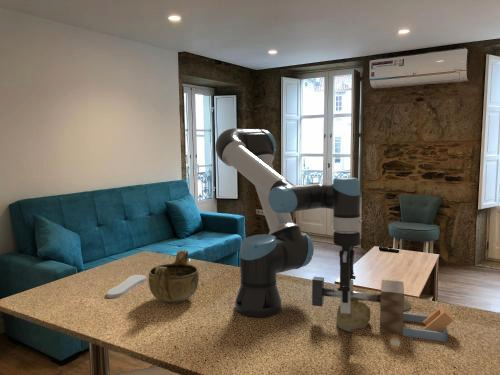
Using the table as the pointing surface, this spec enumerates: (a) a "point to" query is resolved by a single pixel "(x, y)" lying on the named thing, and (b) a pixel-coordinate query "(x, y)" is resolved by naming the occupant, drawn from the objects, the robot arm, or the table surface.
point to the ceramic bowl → (174, 280)
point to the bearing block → (392, 307)
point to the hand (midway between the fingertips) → (347, 306)
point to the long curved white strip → (126, 286)
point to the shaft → (337, 293)
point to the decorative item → (354, 316)
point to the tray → (422, 333)
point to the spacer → (438, 320)
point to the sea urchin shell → (405, 304)
